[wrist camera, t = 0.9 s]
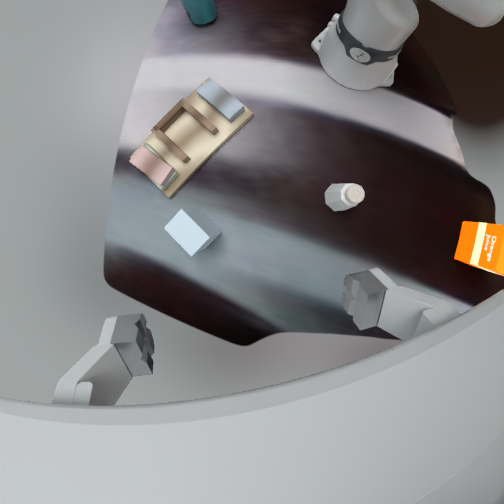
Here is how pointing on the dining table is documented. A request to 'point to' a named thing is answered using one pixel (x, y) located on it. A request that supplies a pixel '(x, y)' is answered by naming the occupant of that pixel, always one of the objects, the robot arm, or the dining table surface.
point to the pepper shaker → (343, 196)
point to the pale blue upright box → (192, 230)
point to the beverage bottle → (200, 10)
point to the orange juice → (482, 246)
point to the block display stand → (189, 136)
